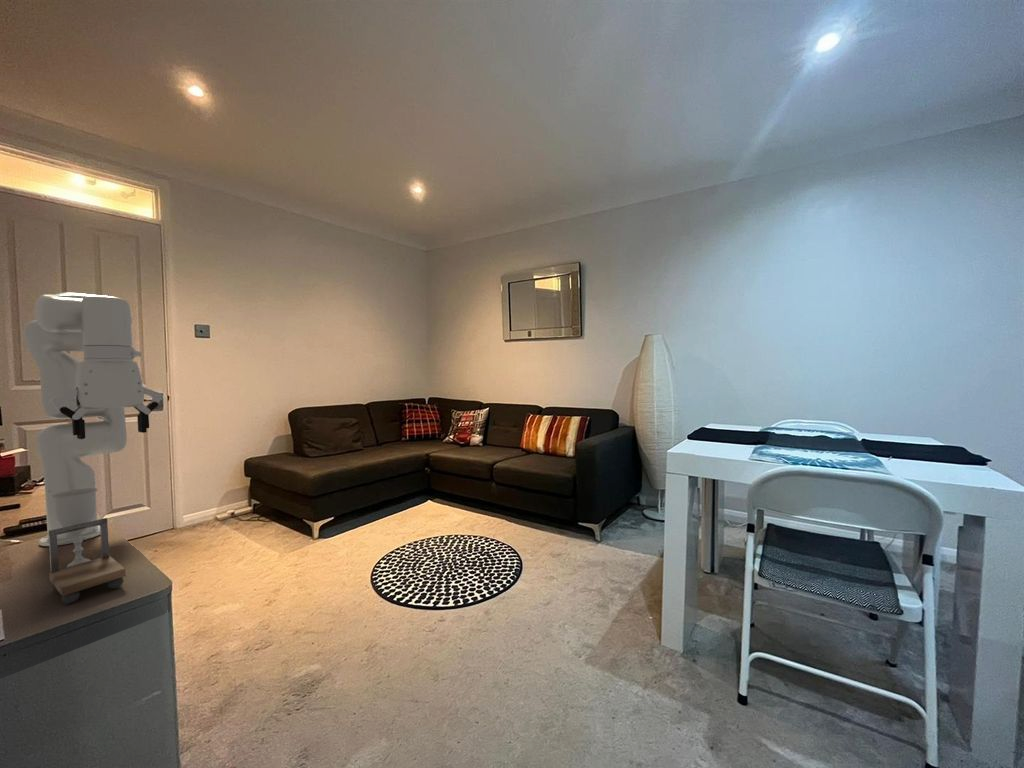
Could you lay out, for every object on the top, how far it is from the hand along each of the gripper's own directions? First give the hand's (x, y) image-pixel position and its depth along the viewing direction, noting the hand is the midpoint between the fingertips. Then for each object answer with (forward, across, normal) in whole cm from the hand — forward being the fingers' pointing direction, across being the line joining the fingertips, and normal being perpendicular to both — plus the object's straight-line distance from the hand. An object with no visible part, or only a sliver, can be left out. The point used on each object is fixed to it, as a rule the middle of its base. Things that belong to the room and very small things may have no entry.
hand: (113, 435), depth 89 cm
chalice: (+31, +4, -14) cm, 35 cm away
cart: (+31, +5, 0) cm, 32 cm away
